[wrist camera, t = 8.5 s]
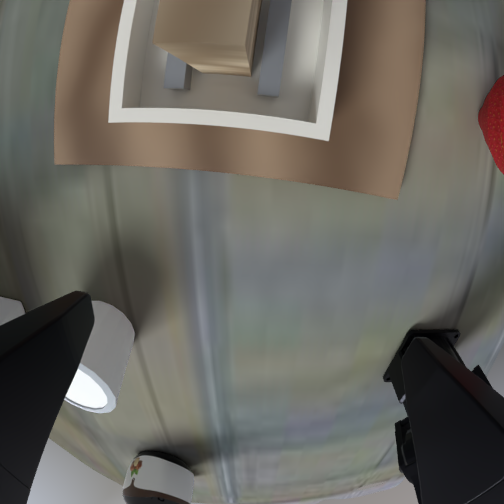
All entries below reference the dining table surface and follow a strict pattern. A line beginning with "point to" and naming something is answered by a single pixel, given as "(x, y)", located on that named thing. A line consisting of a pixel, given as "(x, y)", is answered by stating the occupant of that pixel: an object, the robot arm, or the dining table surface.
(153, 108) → the white rectangular tray
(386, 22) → the brown slab
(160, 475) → the spread jar
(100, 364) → the white cup
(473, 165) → the dining table surface
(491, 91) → the strawberry
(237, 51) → the tan cardboard-colored prism
